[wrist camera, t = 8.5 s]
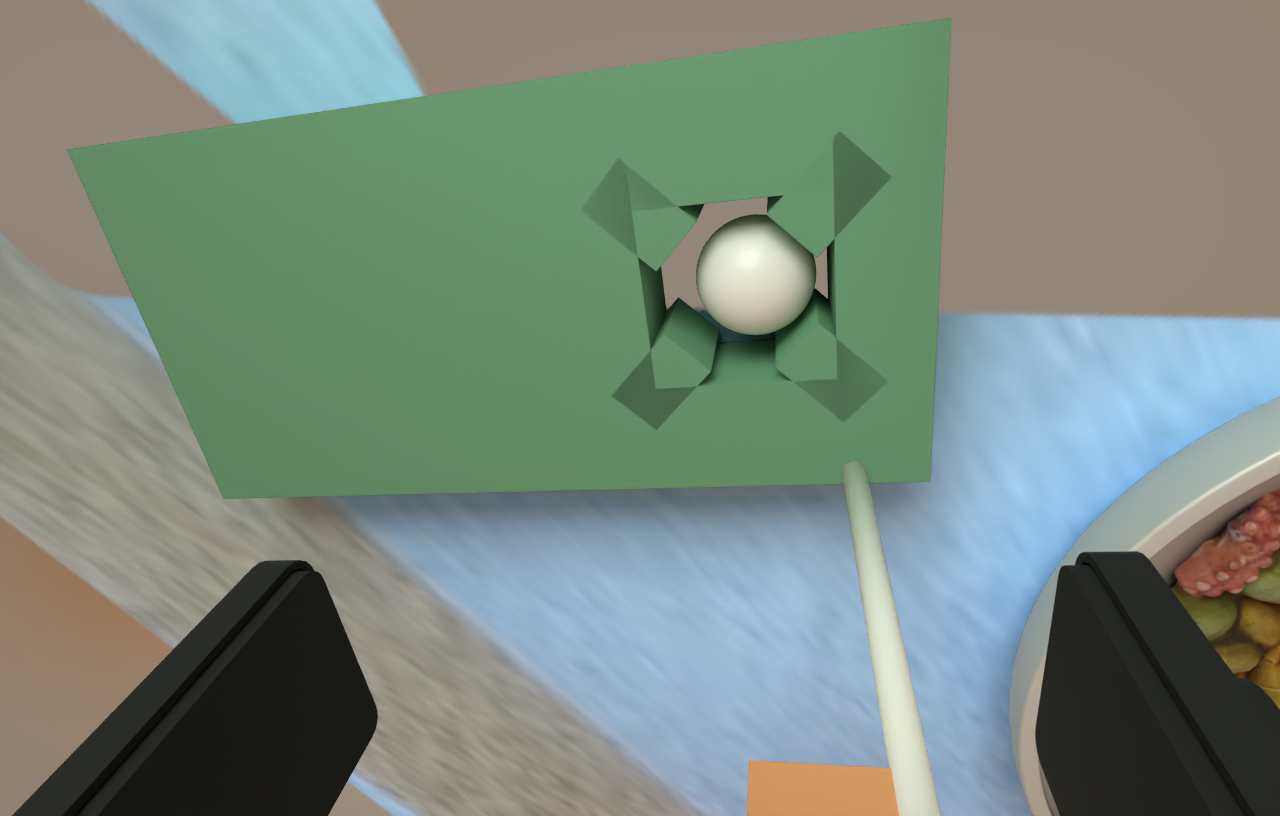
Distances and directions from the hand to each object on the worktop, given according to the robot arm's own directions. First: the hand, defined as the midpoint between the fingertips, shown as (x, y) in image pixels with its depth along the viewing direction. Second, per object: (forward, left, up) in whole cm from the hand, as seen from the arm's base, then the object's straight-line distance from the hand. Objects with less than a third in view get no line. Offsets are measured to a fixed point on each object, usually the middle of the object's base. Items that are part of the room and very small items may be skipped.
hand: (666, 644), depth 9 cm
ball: (0, +1, -17) cm, 17 cm away
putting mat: (0, -8, -19) cm, 21 cm away
